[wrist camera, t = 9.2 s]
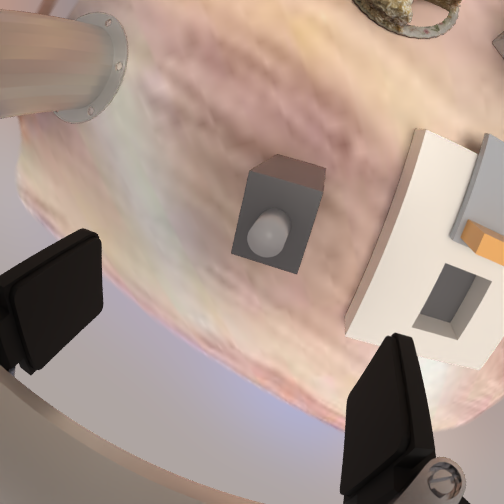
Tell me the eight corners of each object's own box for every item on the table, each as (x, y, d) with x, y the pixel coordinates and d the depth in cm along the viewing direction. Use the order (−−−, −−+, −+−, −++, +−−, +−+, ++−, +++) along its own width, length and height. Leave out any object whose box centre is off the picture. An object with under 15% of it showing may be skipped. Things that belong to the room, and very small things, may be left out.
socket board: (344, 317, 29) (344, 336, 26) (415, 128, 21) (426, 129, 18) (471, 352, 27) (479, 370, 24) (548, 200, 19) (565, 209, 16)
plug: (262, 211, 27) (217, 271, 16) (277, 154, 24) (236, 178, 14) (308, 225, 26) (291, 295, 16) (325, 168, 24) (321, 203, 14)
